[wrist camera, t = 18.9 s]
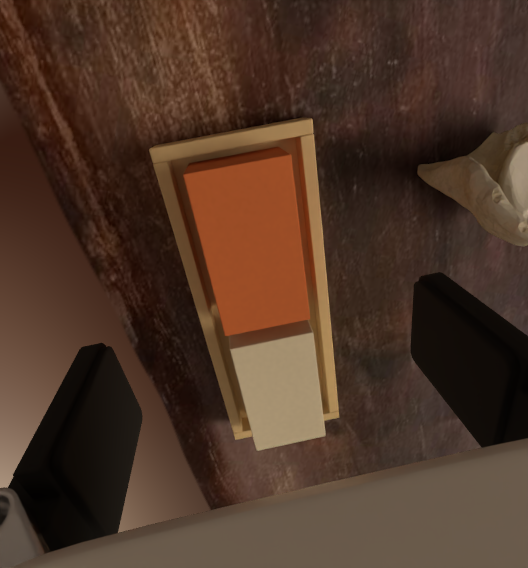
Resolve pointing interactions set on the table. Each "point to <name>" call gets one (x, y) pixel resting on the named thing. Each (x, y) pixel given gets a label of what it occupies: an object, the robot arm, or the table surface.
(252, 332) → the cream rectangular block
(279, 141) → the wooden tray
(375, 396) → the table surface
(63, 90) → the table surface
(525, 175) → the bone
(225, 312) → the orange angular block
